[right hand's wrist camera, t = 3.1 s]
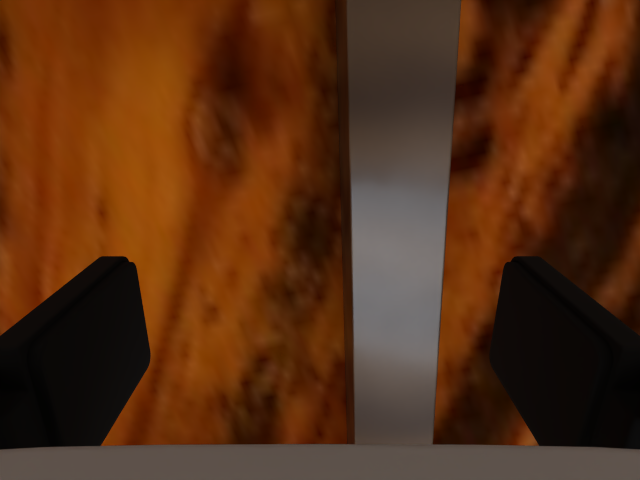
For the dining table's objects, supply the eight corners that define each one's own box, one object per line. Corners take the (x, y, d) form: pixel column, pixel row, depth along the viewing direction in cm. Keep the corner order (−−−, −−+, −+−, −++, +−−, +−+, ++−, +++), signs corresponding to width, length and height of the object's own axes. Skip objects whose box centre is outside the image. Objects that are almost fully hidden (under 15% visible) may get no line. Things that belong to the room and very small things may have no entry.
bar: (333, -67, 24) (343, -142, 16) (418, -71, 23) (471, -148, 16) (352, 622, 45) (360, 736, 37) (396, 620, 45) (414, 734, 37)
